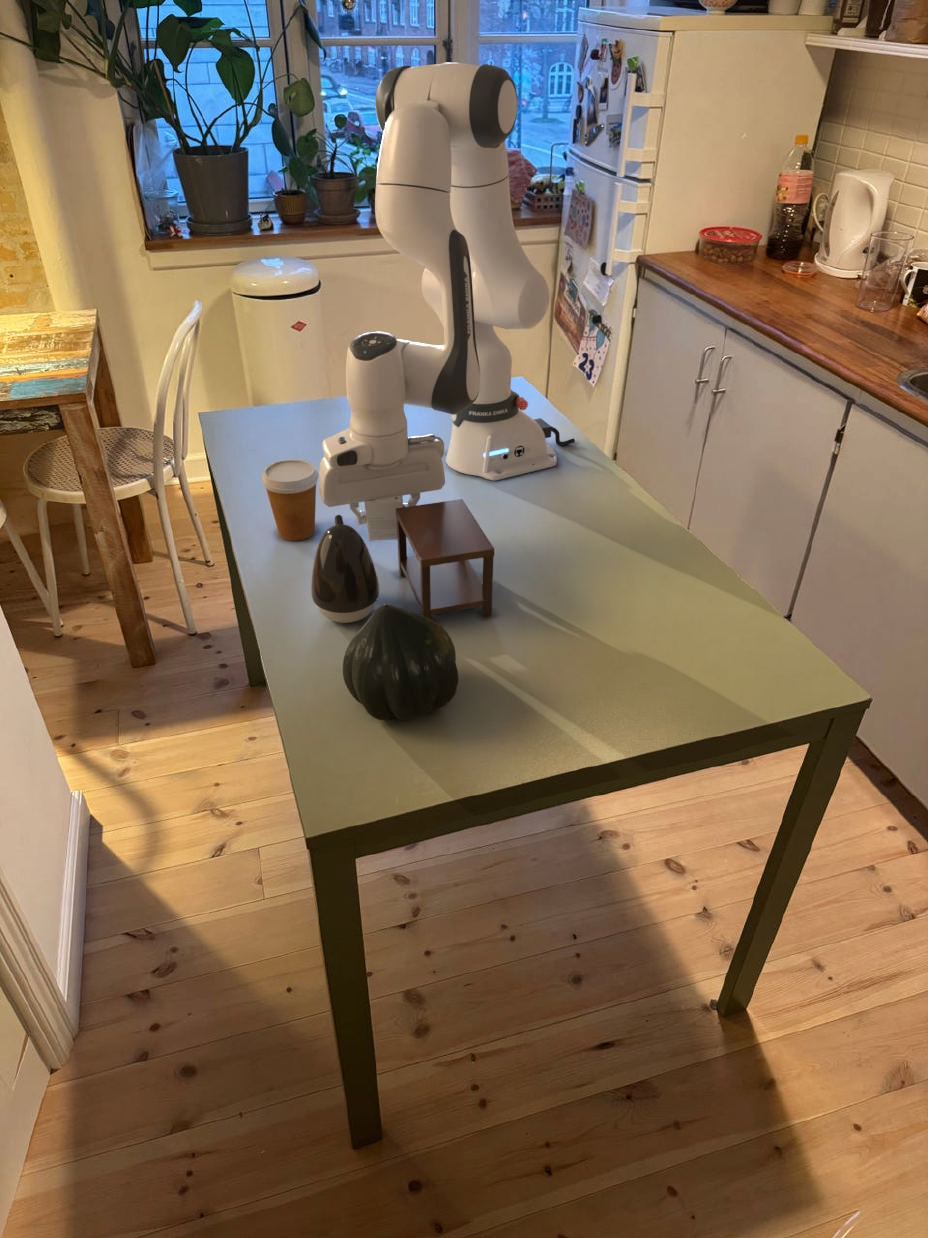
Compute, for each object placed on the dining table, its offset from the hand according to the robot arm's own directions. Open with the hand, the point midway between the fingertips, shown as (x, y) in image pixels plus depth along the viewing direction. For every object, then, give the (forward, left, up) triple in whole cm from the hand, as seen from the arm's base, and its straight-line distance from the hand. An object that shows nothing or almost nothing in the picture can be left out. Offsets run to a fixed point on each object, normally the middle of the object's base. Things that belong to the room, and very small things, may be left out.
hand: (385, 518), depth 145 cm
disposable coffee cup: (+14, -12, -7) cm, 19 cm away
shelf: (-6, +14, -7) cm, 17 cm away
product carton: (0, 0, -3) cm, 3 cm away
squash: (+7, +37, -7) cm, 38 cm away
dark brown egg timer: (+10, +15, -7) cm, 19 cm away
